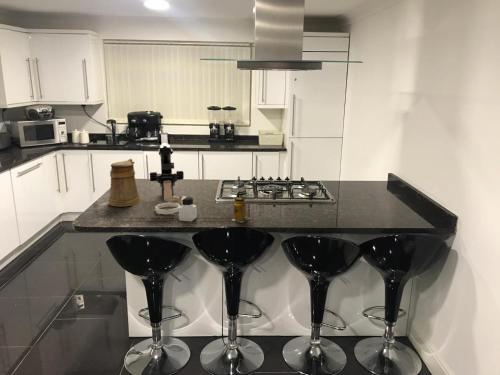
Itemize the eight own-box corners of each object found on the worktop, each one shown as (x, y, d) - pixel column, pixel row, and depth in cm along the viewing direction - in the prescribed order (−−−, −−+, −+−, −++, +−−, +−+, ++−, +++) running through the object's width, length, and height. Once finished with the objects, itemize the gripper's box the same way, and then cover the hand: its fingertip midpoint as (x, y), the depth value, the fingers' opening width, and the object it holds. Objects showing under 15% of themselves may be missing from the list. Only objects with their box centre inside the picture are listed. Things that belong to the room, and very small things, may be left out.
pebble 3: (180, 201, 258) (180, 196, 257) (182, 199, 261) (182, 195, 260) (184, 201, 257) (184, 196, 256) (186, 200, 260) (186, 195, 259)
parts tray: (167, 203, 256) (167, 199, 255) (173, 200, 263) (173, 195, 263) (183, 204, 254) (183, 200, 253) (188, 201, 261) (188, 196, 260)
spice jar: (162, 199, 240) (161, 181, 237) (168, 198, 244) (167, 179, 241) (167, 201, 238) (166, 182, 235) (173, 199, 241) (172, 180, 238)
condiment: (230, 220, 228) (230, 198, 224) (241, 216, 234) (241, 195, 231) (241, 223, 223) (240, 201, 220) (251, 218, 229) (251, 197, 226)
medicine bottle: (196, 217, 231) (196, 196, 228) (191, 221, 225) (190, 200, 222) (185, 216, 234) (184, 195, 231) (178, 220, 227) (177, 198, 224)
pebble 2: (174, 202, 256) (174, 197, 255) (176, 201, 258) (176, 196, 258) (179, 202, 255) (179, 198, 254) (181, 201, 258) (181, 196, 257)
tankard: (103, 207, 250) (99, 165, 243) (120, 196, 272) (117, 157, 266) (133, 208, 248) (129, 166, 241) (147, 197, 270) (145, 158, 264)
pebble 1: (171, 201, 258) (171, 196, 257) (173, 199, 261) (173, 195, 260) (176, 201, 258) (175, 196, 257) (178, 200, 260) (177, 195, 260)
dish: (152, 214, 238) (151, 208, 237) (162, 206, 250) (162, 202, 249) (174, 215, 235) (174, 210, 234) (183, 208, 247) (183, 203, 246)
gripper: (148, 158, 236) (149, 182, 229) (182, 156, 240) (184, 180, 233) (149, 169, 246) (150, 192, 238) (182, 167, 250) (184, 190, 242)
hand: (167, 188), depth 238 cm, fingers closed on spice jar, 4 cm apart
